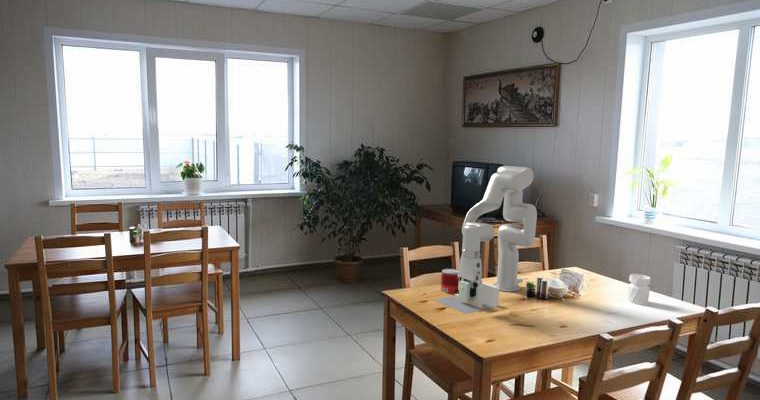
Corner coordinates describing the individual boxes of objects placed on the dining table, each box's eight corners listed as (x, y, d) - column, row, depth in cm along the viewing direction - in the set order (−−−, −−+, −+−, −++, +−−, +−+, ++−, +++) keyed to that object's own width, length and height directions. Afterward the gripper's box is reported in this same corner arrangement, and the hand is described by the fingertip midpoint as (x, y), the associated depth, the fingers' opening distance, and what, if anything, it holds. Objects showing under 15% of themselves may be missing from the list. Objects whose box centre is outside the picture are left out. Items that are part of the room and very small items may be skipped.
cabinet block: (470, 296, 231) (471, 279, 230) (477, 299, 227) (478, 281, 226) (457, 299, 227) (458, 281, 226) (464, 302, 223) (465, 283, 222)
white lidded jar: (646, 306, 234) (648, 280, 233) (625, 302, 240) (627, 276, 238) (649, 301, 241) (652, 276, 240) (629, 297, 247) (631, 272, 245)
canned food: (459, 296, 240) (460, 273, 239) (441, 296, 240) (442, 272, 239) (457, 291, 248) (458, 269, 246) (440, 291, 248) (441, 268, 246)
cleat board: (465, 296, 240) (466, 276, 239) (498, 309, 224) (499, 288, 223) (433, 303, 230) (434, 282, 228) (465, 317, 213) (466, 294, 212)
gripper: (491, 257, 220) (488, 299, 222) (463, 249, 234) (461, 288, 236) (478, 258, 216) (476, 301, 218) (451, 250, 229) (448, 291, 232)
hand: (468, 294), depth 227 cm, fingers closed on cabinet block, 4 cm apart
